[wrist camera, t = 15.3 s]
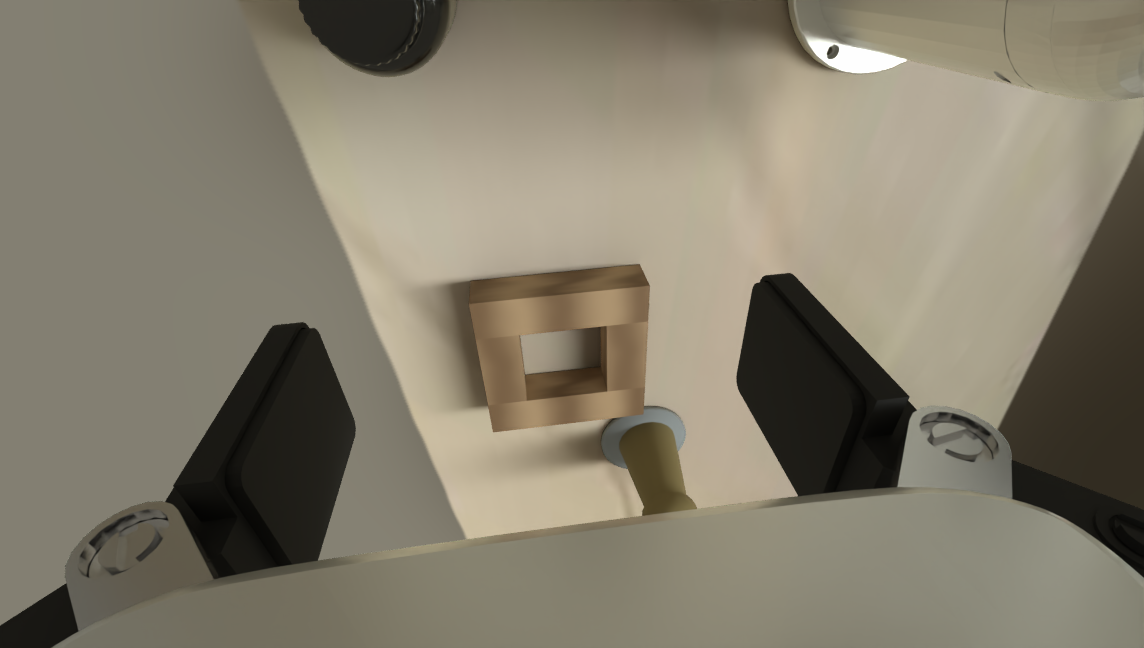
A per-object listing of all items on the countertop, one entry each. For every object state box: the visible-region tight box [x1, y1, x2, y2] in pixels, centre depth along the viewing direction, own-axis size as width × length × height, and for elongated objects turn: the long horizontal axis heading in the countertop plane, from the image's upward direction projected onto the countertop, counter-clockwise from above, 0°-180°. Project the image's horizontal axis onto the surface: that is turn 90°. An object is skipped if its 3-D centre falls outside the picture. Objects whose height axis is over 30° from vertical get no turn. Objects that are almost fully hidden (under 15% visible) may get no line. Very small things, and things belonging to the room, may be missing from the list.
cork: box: [619, 422, 697, 516], centre depth 50 cm, size 6×6×11 cm
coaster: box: [601, 406, 686, 469], centre depth 55 cm, size 9×9×1 cm
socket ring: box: [469, 264, 650, 432], centre depth 45 cm, size 14×14×4 cm
